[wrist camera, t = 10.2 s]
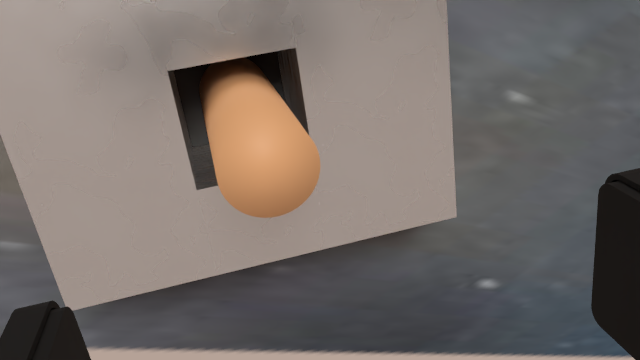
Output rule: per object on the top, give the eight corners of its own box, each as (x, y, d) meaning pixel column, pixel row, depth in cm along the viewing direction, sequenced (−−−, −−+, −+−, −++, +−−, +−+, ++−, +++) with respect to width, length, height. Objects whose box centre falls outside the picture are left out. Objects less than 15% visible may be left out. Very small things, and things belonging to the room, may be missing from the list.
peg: (261, 50, 25) (312, 109, 16) (272, 115, 26) (327, 205, 17) (192, 63, 25) (205, 131, 16) (207, 129, 26) (227, 228, 17)
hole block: (391, -86, 24) (442, -92, 20) (412, 175, 29) (456, 216, 25) (-10, -25, 22) (-57, -17, 17) (85, 249, 27) (67, 311, 22)
